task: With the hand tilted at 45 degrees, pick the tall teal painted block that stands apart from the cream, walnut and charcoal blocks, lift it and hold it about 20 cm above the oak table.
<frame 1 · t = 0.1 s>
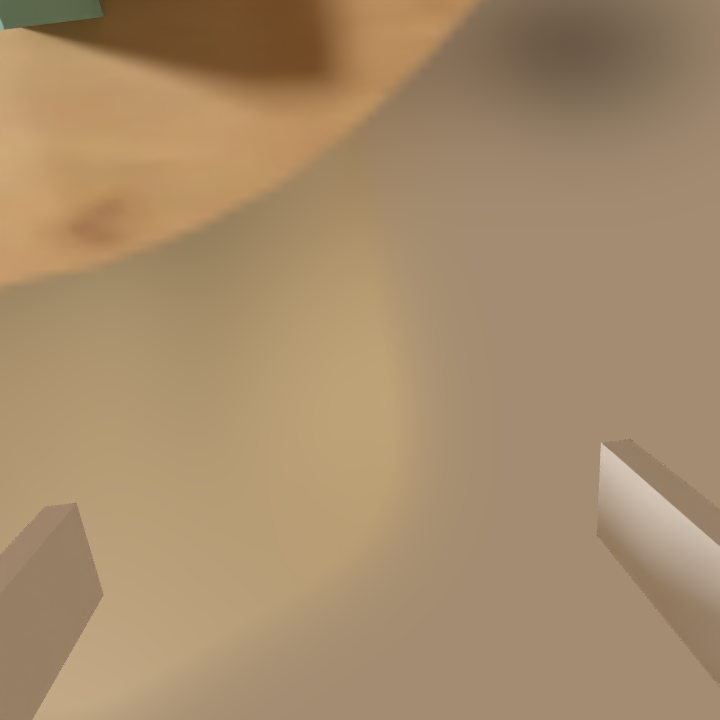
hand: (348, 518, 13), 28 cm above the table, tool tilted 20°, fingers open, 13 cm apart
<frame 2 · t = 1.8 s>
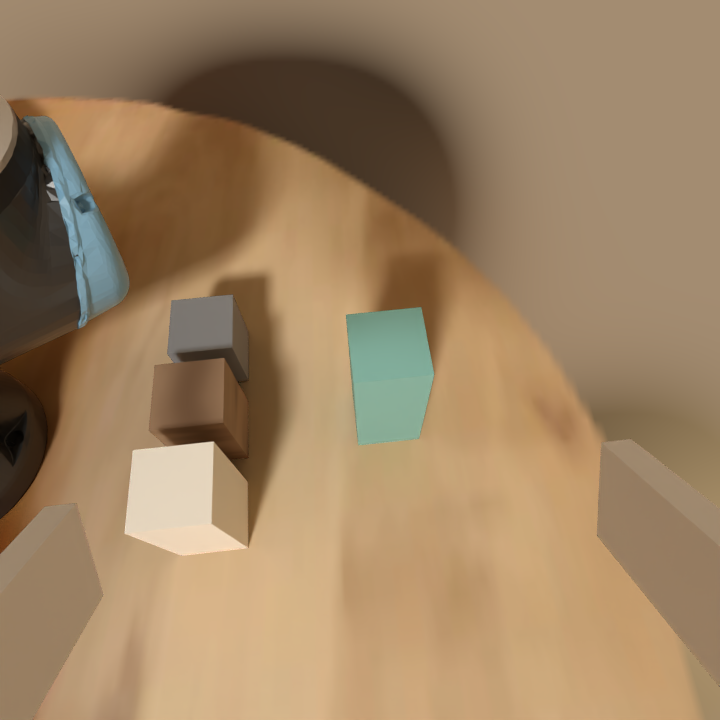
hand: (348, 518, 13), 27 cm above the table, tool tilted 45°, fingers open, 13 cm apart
teal block: (384, 413, 44), on the table
walnut block: (218, 432, 43), on the table
cream block: (215, 517, 40), on the table
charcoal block: (220, 358, 46), on the table
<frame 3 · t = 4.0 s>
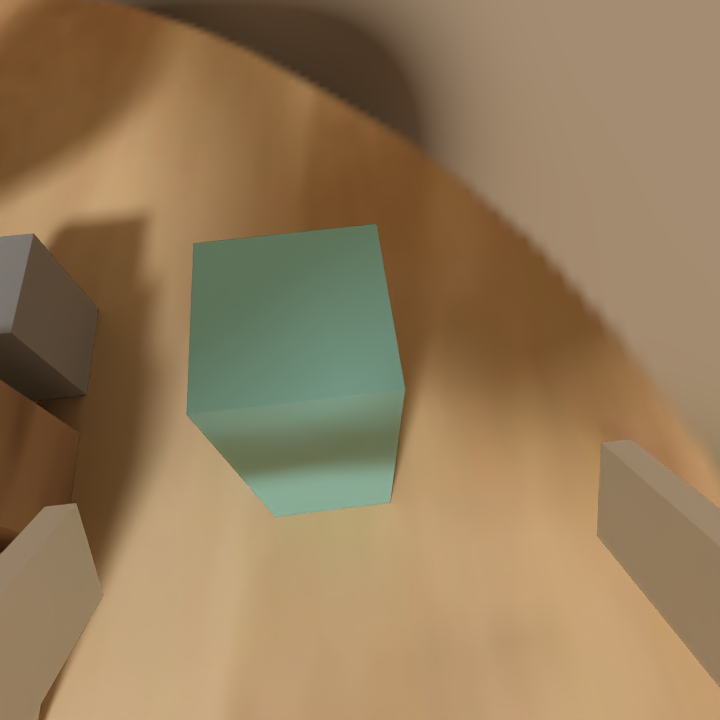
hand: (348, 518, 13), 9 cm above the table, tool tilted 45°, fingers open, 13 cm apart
teal block: (327, 454, 24), on the table
walnut block: (16, 493, 23), on the table
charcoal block: (43, 356, 26), on the table
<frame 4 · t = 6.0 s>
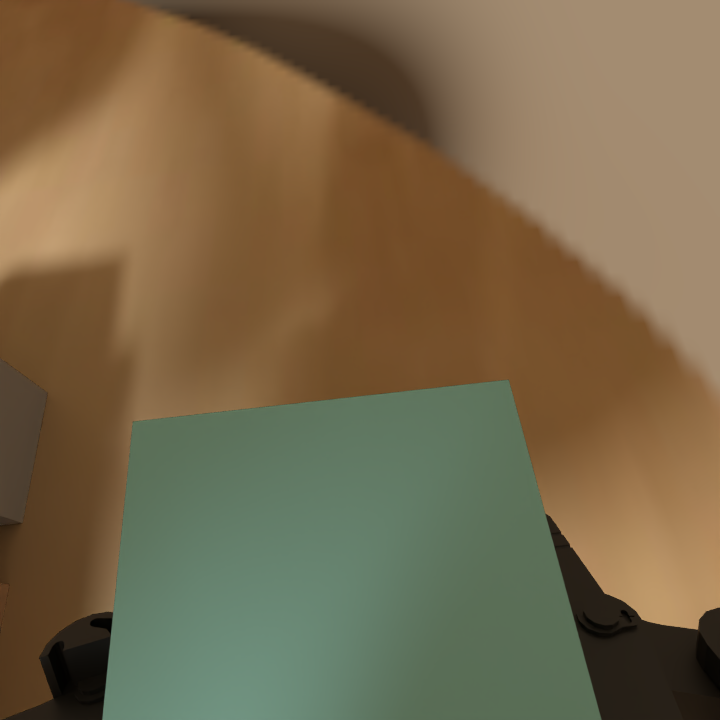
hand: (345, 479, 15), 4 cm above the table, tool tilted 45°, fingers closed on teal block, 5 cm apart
teal block: (362, 624, 16), on the table, touching gripper
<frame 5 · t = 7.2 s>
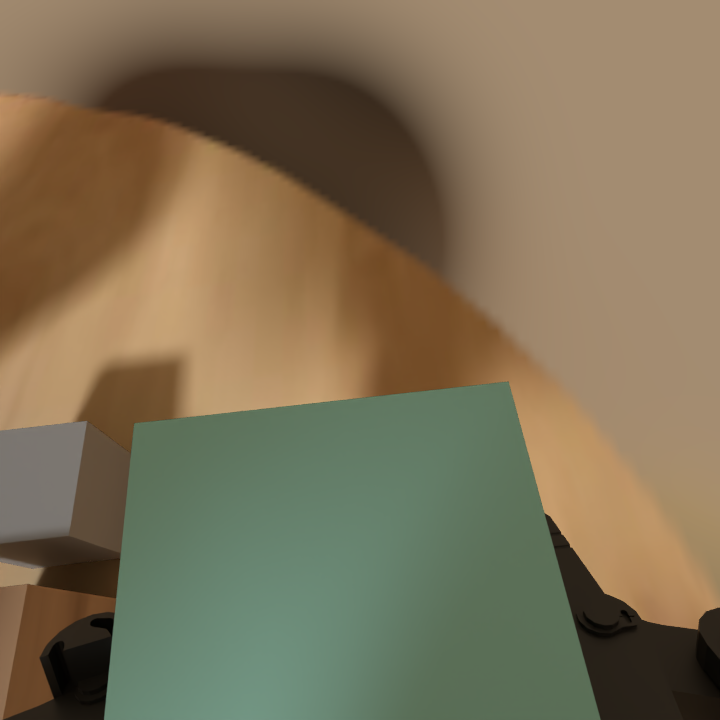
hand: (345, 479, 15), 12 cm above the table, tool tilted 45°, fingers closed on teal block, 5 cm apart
teal block: (362, 625, 16), point 9 cm above the table, touching gripper
walnut block: (66, 665, 24), on the table
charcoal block: (89, 512, 27), on the table
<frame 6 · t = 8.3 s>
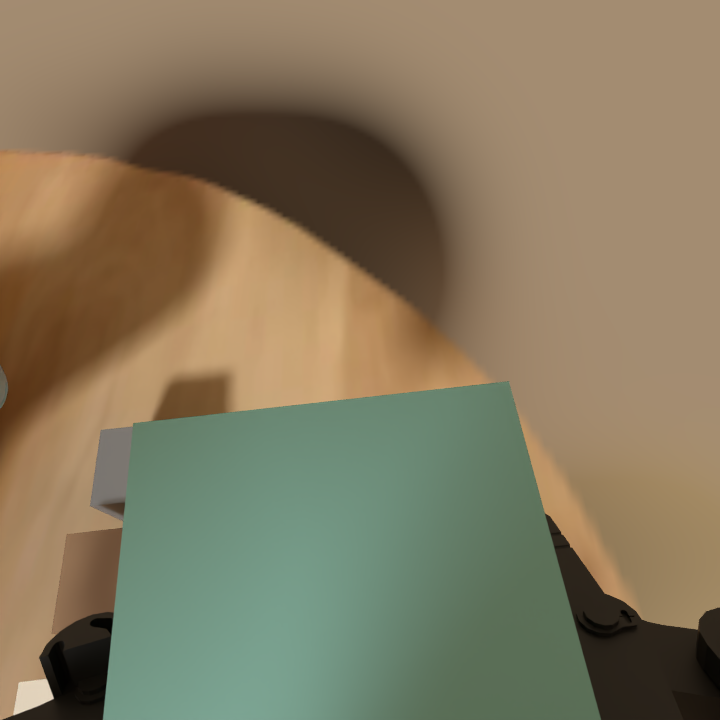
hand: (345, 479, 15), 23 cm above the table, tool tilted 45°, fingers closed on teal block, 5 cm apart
teal block: (362, 625, 16), point 20 cm above the table, touching gripper
walnut block: (159, 588, 35), on the table
cream block: (150, 711, 32), on the table
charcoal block: (167, 486, 38), on the table
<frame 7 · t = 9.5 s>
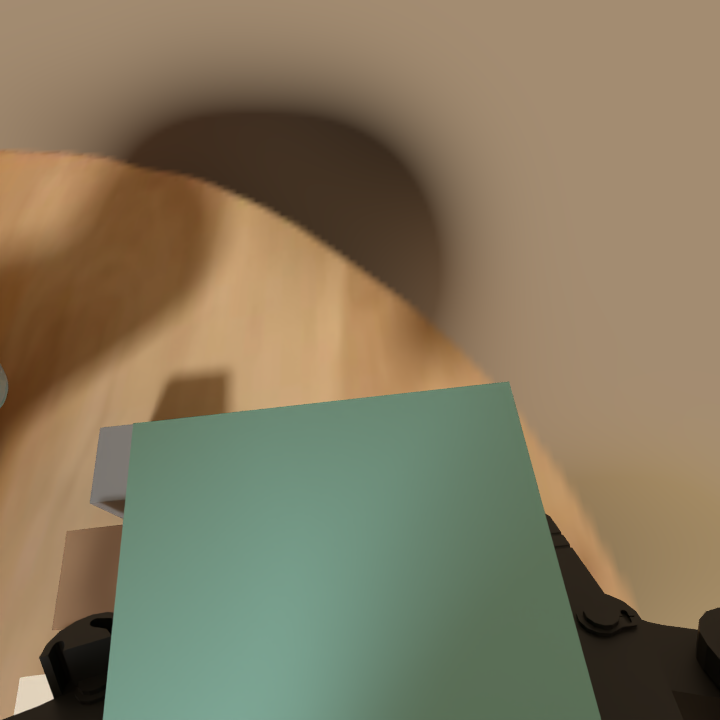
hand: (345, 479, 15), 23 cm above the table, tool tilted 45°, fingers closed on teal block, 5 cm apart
teal block: (362, 625, 16), point 20 cm above the table, touching gripper
walnut block: (159, 585, 35), on the table
cream block: (150, 707, 32), on the table
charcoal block: (167, 483, 39), on the table
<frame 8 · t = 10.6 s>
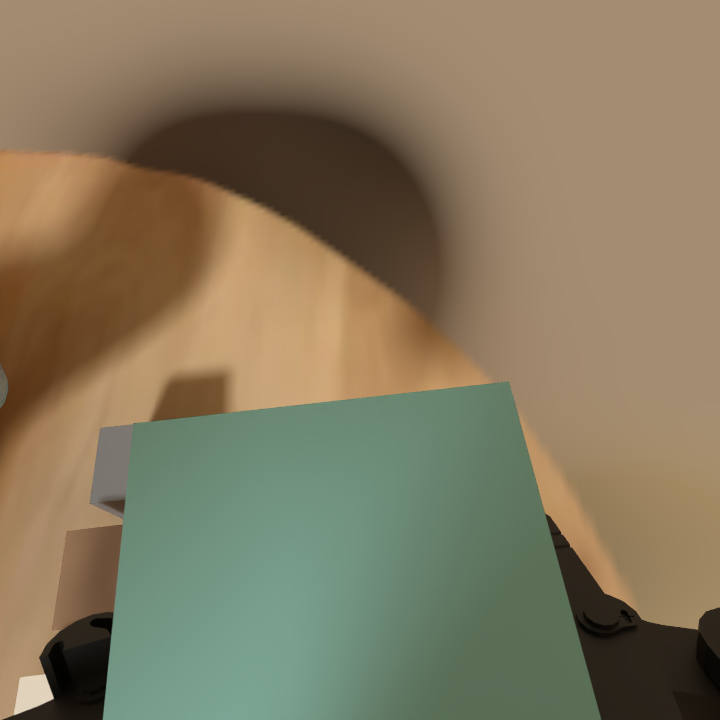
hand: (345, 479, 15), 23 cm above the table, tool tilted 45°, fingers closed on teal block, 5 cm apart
teal block: (362, 625, 16), point 20 cm above the table, touching gripper
walnut block: (159, 585, 35), on the table
cream block: (150, 707, 32), on the table
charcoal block: (167, 483, 39), on the table
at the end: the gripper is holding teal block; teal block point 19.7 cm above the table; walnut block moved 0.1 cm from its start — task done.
